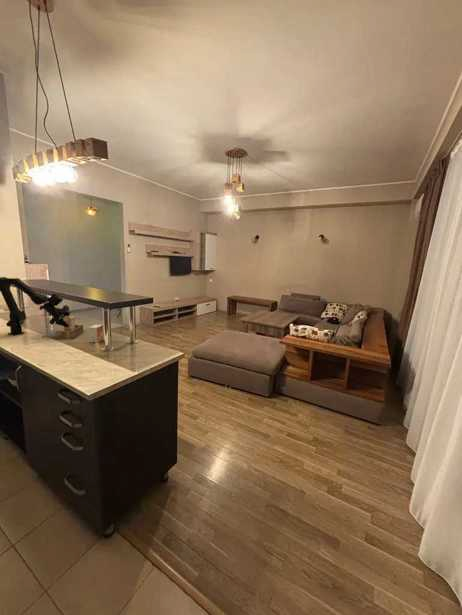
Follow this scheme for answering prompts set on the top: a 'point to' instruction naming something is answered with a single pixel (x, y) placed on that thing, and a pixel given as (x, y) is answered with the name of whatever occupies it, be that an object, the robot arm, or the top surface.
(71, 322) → the ash block
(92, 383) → the top surface
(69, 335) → the walnut crate
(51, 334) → the slate mat
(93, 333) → the small box
